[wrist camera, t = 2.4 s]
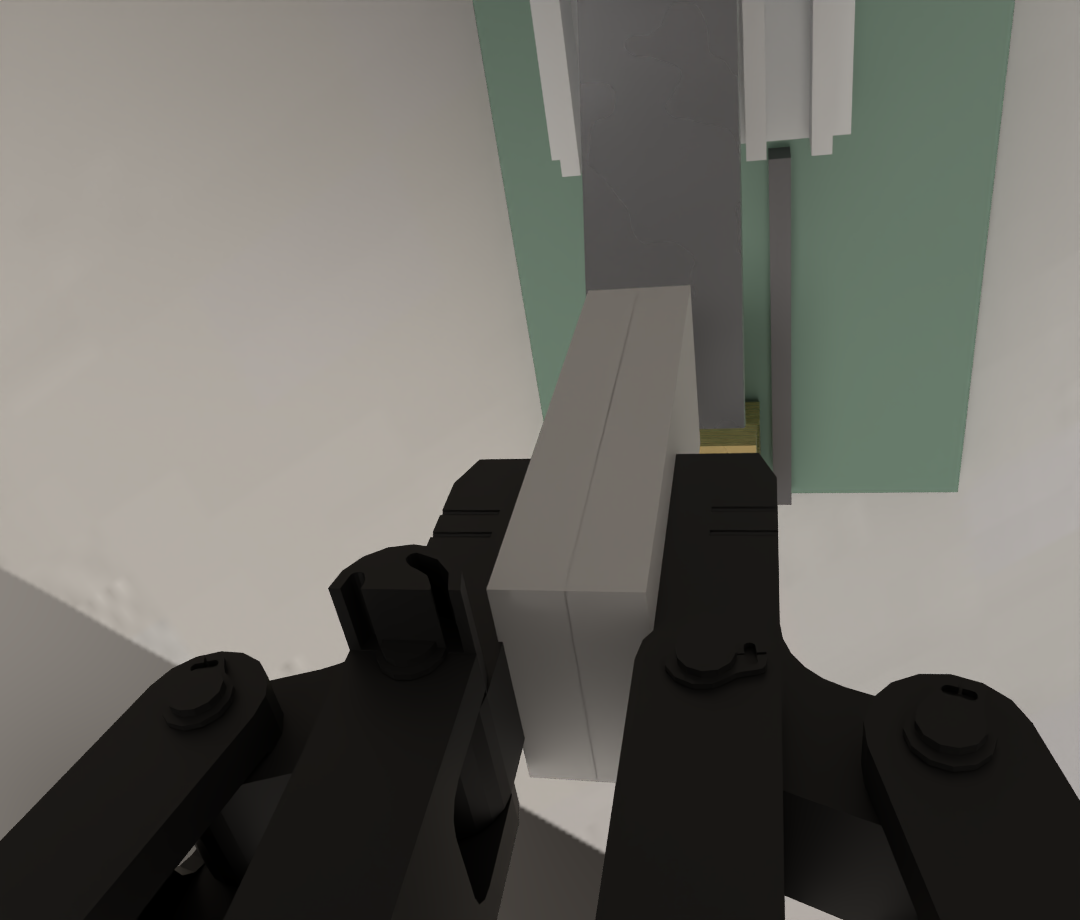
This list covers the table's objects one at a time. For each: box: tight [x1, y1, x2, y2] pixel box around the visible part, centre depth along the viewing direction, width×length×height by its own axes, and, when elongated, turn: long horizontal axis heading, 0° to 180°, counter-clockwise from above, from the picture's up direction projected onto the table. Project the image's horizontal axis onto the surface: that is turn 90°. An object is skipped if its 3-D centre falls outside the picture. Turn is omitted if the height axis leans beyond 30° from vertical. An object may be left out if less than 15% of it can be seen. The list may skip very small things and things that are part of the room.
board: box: [473, 0, 1015, 505], centre depth 25 cm, size 29×14×7 cm, turn 9°
